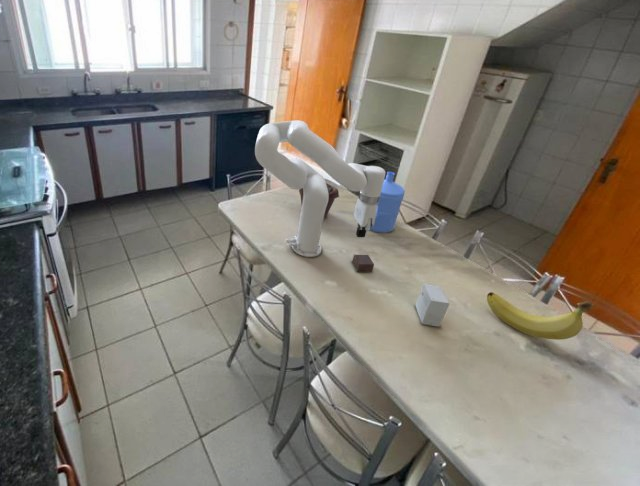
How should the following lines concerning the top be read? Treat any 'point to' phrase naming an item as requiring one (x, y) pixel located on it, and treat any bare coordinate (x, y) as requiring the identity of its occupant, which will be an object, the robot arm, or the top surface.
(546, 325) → the banana
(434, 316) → the small box
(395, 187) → the water jug
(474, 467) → the top surface
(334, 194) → the case
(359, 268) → the walnut block
